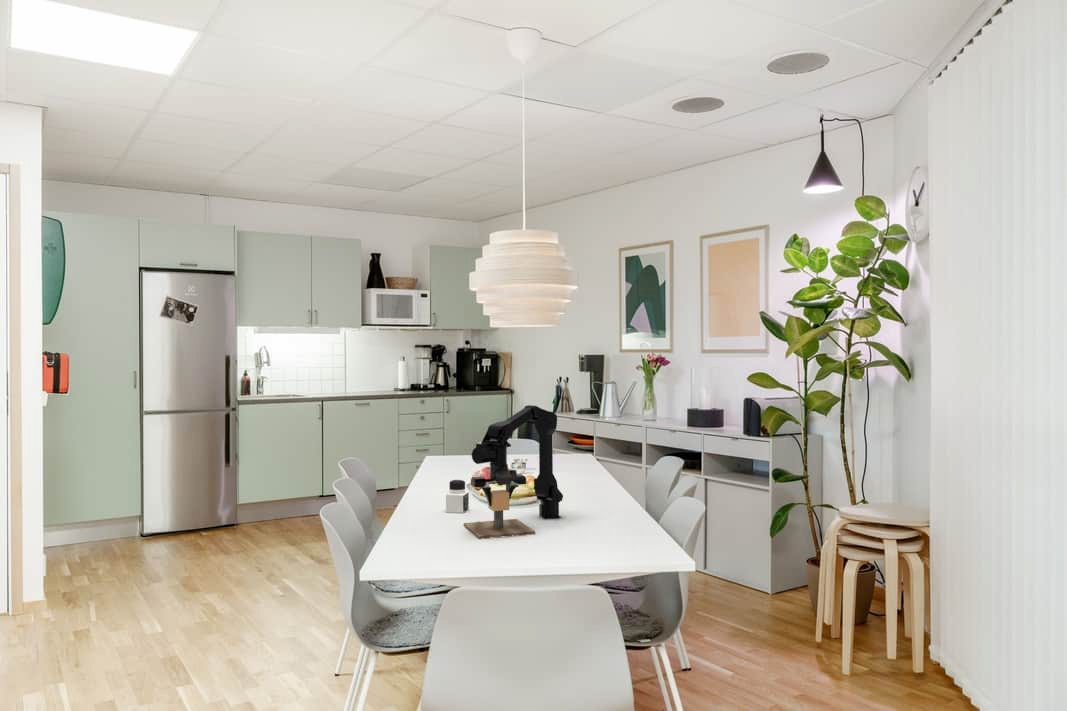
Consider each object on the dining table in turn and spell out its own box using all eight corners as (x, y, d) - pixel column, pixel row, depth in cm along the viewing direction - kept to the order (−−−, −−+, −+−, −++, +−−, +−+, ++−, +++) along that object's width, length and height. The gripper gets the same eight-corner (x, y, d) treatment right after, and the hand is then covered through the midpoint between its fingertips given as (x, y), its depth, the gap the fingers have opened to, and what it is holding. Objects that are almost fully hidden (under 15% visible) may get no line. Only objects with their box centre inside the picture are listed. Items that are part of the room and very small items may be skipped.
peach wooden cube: (504, 506, 274) (504, 489, 274) (509, 509, 268) (509, 492, 268) (488, 507, 272) (488, 490, 272) (493, 511, 266) (493, 493, 266)
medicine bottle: (463, 513, 297) (463, 482, 297) (445, 512, 298) (445, 481, 298) (468, 509, 304) (468, 479, 304) (451, 508, 305) (451, 478, 305)
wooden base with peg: (516, 521, 283) (516, 499, 283) (535, 534, 264) (535, 510, 264) (463, 525, 276) (463, 503, 276) (478, 539, 258) (478, 515, 257)
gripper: (478, 465, 259) (479, 512, 259) (531, 462, 266) (531, 508, 266) (470, 460, 270) (470, 505, 270) (521, 458, 276) (521, 501, 276)
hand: (498, 505), depth 270 cm, fingers closed on peach wooden cube, 6 cm apart
